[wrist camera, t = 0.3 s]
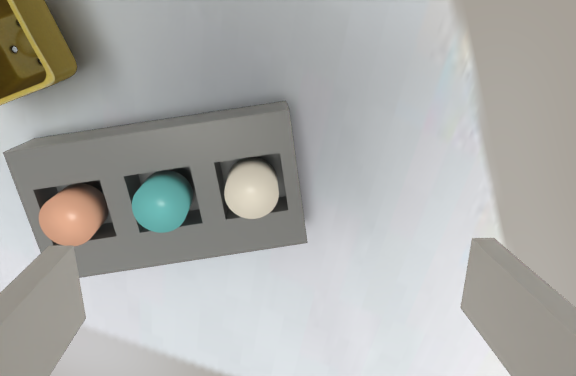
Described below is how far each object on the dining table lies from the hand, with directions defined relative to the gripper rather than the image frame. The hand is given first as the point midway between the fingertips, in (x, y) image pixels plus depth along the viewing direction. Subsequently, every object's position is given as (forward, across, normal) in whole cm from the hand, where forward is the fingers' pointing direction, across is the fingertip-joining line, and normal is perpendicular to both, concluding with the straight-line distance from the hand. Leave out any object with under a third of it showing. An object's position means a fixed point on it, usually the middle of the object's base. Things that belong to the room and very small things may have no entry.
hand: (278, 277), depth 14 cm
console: (+27, -9, -5) cm, 29 cm away
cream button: (+23, -1, -4) cm, 24 cm away
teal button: (+23, -9, -5) cm, 25 cm away
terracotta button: (+23, -16, -6) cm, 29 cm away
